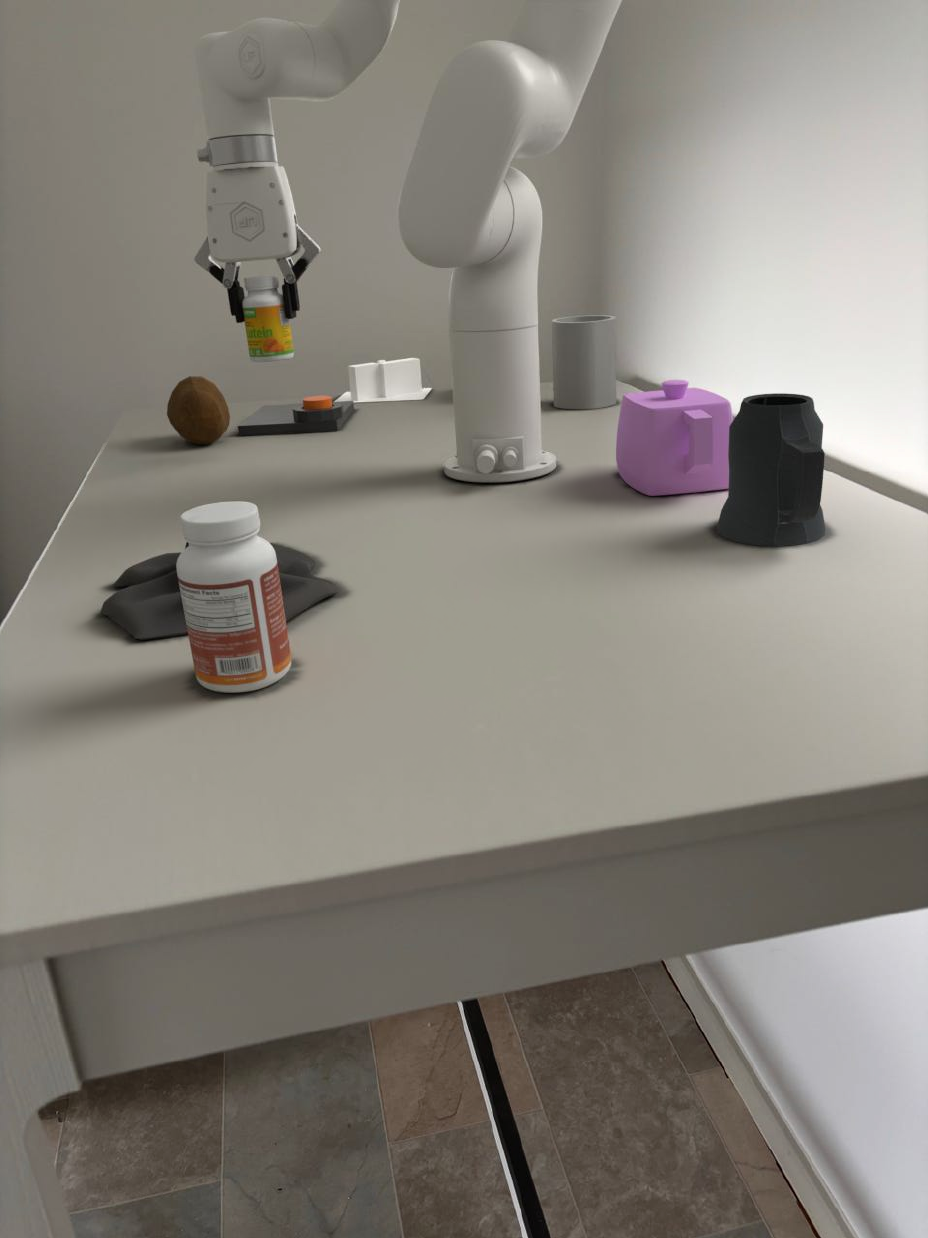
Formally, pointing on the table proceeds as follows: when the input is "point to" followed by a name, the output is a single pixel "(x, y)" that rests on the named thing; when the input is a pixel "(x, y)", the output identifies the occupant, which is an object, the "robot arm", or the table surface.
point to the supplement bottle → (266, 320)
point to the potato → (198, 410)
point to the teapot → (674, 440)
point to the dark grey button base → (296, 419)
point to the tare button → (317, 402)
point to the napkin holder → (385, 381)
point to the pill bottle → (232, 599)
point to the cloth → (159, 601)
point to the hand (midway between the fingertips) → (266, 318)
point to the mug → (774, 472)
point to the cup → (584, 361)
